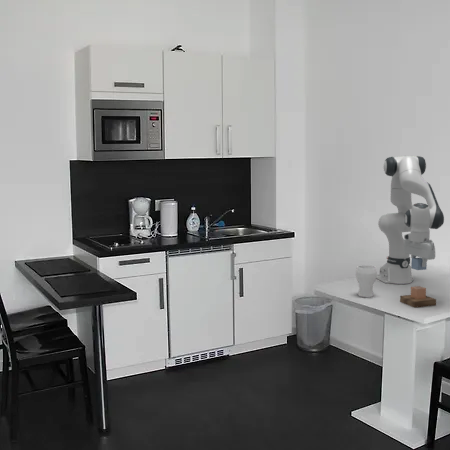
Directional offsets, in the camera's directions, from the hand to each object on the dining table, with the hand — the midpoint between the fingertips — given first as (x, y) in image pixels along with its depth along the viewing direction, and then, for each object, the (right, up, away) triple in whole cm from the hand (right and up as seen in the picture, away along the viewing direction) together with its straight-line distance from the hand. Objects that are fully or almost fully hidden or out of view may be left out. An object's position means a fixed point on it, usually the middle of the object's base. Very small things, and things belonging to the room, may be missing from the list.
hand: (418, 265), depth 299 cm
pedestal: (0, -19, +2) cm, 19 cm away
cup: (-21, -17, +19) cm, 33 cm away
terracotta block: (0, -16, +2) cm, 16 cm away
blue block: (0, -2, 0) cm, 2 cm away
